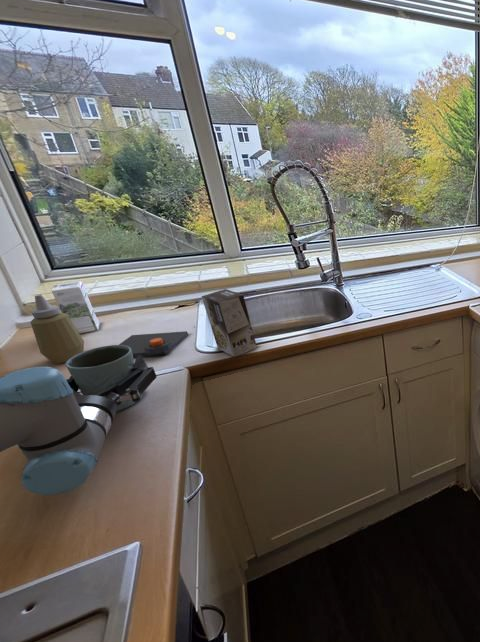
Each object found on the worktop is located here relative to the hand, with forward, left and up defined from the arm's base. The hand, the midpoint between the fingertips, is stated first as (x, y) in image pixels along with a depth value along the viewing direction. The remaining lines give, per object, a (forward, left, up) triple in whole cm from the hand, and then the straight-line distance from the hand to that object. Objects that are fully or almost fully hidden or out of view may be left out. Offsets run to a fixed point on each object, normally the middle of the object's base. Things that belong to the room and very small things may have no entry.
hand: (112, 366), depth 91 cm
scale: (-6, +23, -7) cm, 25 cm away
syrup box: (-30, +38, -7) cm, 49 cm away
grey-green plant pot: (+2, -4, -7) cm, 8 cm away
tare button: (-1, +18, -4) cm, 19 cm away
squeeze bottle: (-23, +20, -7) cm, 32 cm away
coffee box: (+18, +18, -7) cm, 26 cm away
